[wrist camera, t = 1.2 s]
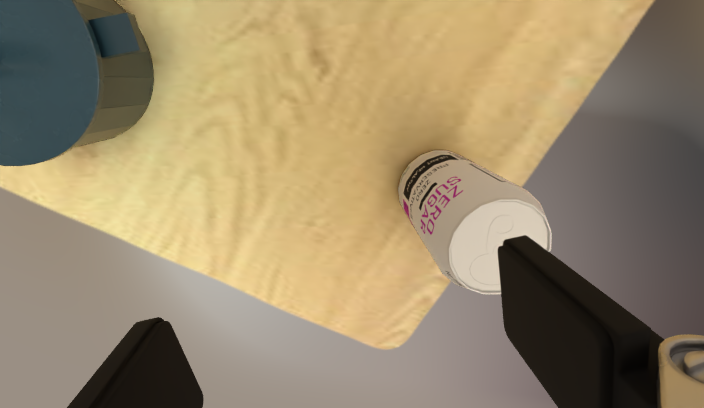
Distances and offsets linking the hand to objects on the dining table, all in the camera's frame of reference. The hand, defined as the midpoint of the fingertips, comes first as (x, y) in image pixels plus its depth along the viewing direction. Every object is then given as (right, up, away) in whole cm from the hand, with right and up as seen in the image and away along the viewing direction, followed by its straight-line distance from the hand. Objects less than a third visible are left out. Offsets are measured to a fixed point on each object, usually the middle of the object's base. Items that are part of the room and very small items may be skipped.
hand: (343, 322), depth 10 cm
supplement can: (+9, +5, +28) cm, 30 cm away
